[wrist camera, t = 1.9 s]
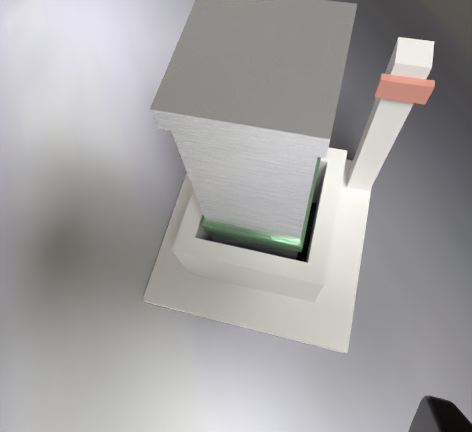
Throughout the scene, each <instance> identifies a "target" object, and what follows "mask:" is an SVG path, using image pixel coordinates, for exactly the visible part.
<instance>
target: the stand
mask: <svg viewBox="0 0 472 432" xmlns="http://www.w3.org/2000/svg"><path fill="white" fill-rule="evenodd" d="M433 50H434V41H425V40H417V39H409V38H400V37H398V40H397V43H396V45H395V48H394V51H393V53H392V56H391V59H390V62H389V64H388V67H387V70H386V72H385V74H381V77H380V80H379V82H378V85H377V88H376V91H375V97H376V100H375V102H374V105H373V108H372V110H371V113H370V116H369V119H368V121H367V124H366V127H365V129H364V132H363V135H362V138H361V140H360V143H359V146H358V148H357V151H356V154H355V157H354V159H353V160H347V159H346V157H347V150H341V149H335V148H329V147H328V151H327V155H326V158H322V157H321V160H320V165H319V169H318V174H317V179H316V184H315V189H314V194H313V199H312V202H314V203H317V206H316V211H315V216H314V221H313V226H312V231H311V236H310V241H309V246H308V251H307V256H306V261H305V262H302V261H297V260H293V259H289V258H284V257H280V256H275V255H271V254H266V253H262V252H257V251H253V250H248V249H244V248H239V247H235V246H230V245H226V244H221V243H217V242H213V239H212V236H211V234H210V232H207V231H204V229H203V227H202V222H203V219H204V216H203V213H202V211H201V208H200V205H199V203H198V200H197V198H196V195H195V192H194V190H193V187H192V185H191V182H190V179H189V177H188V174H187V173H186V176H185V178H184V181H183V184H182V187H181V190H180V193H179V196H178V199H177V202H176V204H175V207H174V210H173V213H172V216H171V219H170V222H169V225H168V227H167V230H166V233H165V236H164V239H163V242H162V245H161V248H160V250H159V253H158V256H157V259H156V262H155V265H154V268H153V271H152V273H151V276H150V279H149V282H148V285H147V288H146V291H145V294H144V297H143V299H142V300H143V301H145V302H146V303H149V304H153V305H157V306H161V307H165V308H169V309H173V310H177V311H181V312H184V313H188V314H192V315H196V316H200V317H204V318H208V319H212V320H215V321H219V322H223V323H227V324H231V325H235V326H239V327H243V328H247V329H250V330H254V331H258V332H262V333H266V334H270V335H274V336H278V337H282V338H285V339H289V340H293V341H297V342H301V343H305V344H309V345H313V346H317V347H320V348H324V349H328V350H332V351H336V352H340V353H344V354H345V353H347V352H348V346H349V339H350V332H351V325H352V318H353V311H354V304H355V297H356V291H357V284H358V277H359V270H360V263H361V256H362V249H363V242H364V235H365V228H366V221H367V214H368V207H369V200H370V194H371V187H372V185H373V183H374V181H375V179H376V177H377V175H378V173H379V171H380V169H381V167H382V165H383V163H384V161H385V159H386V157H387V155H388V153H389V151H390V149H391V147H392V145H393V143H394V141H395V139H396V137H397V135H398V133H399V131H400V129H401V127H402V126H403V124H404V122H405V120H406V118H407V116H408V114H409V112H410V110H411V108H412V106H413V104H414V103H418V104H426V102H427V100H428V98H429V96H430V94H431V93H432V91H433V89H434V86H435V81H434V80H426V78H427V76H428V74H429V72H430V70H431V68H432V60H433Z"/></svg>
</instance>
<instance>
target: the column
mask: <svg viewBox="0 0 472 432" xmlns="http://www.w3.org/2000/svg"><path fill="white" fill-rule="evenodd" d="M356 8H357V4H353V3H344V2H335V1H326V0H195V3H194V5H193V8H192V10H191V12H190V15H189V17H188V20H187V22H186V25H185V27H184V29H183V32H182V34H181V37H180V39H179V41H178V44H177V46H176V49H175V51H174V53H173V56H172V58H171V61H170V63H169V65H168V68H167V70H166V73H165V75H164V78H163V80H162V82H161V85H160V87H159V90H158V92H157V94H156V97H155V99H154V102H153V104H152V106H151V109H150V110H151V112H152V114H153V117H154V119H155V121H156V124H157V126H158V128H159V129H163V130H168V131H171V133H172V135H173V138H174V140H175V143H176V146H177V148H178V151H179V153H180V156H181V159H182V161H183V164H184V166H185V169H186V172H187V174H188V177H189V179H190V182H191V185H192V187H193V190H194V192H195V195H196V198H197V200H198V203H199V205H200V208H201V211H202V213H203V216H204V219H203V222H202V227H203V229H204V231H207V232H210V234H211V236H212V239H213V242H217V243H221V244H226V245H230V246H235V247H239V248H244V249H248V250H253V251H257V252H262V253H266V254H271V255H275V256H280V257H284V258H289V259H293V260H296V258H297V253H298V251H299V252H302V248H303V243H304V238H305V233H306V228H307V223H308V218H309V213H310V209H311V204H312V199H313V194H314V189H315V184H316V179H317V174H318V169H319V165H320V160H321V157H322V158H326V155H327V151H328V147H329V143H330V139H331V134H332V129H333V124H334V119H335V114H336V108H337V103H338V98H339V93H340V88H341V83H342V78H343V73H344V68H345V63H346V58H347V53H348V48H349V43H350V38H351V33H352V28H353V23H354V18H355V13H356Z"/></svg>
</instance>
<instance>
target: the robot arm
mask: <svg viewBox="0 0 472 432" xmlns="http://www.w3.org/2000/svg"><path fill="white" fill-rule="evenodd" d="M409 432H472V424H471V423H470V421H469V420H468V419H467V418H466V417H465V416H464V415H463V413H462V412H461V411H460V410H459V409H458V408H457V407H456V406H455V405H454V404H453V403H452V402H450V401H448V400H444V399H441V398H437V397H433V396H425V397H424V398H423V399H422V400H421V402H420V404H419V407H418V409H417V412H416V414H415V416H414V419H413V421H412V423H411V426H410V428H409Z"/></svg>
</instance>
